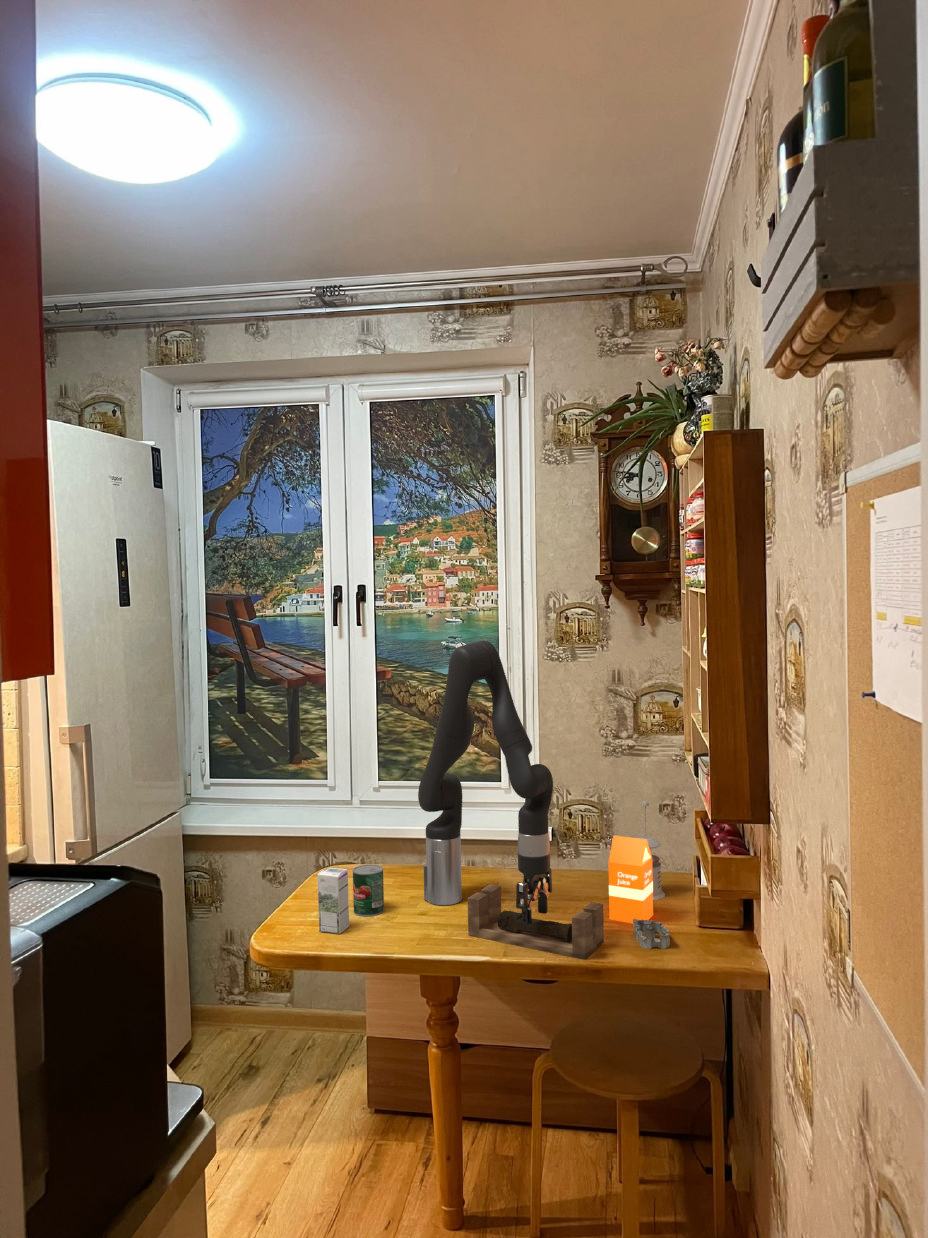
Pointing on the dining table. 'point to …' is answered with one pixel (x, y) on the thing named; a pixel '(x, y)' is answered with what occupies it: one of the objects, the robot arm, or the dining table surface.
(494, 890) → the cradle
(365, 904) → the canned tomato
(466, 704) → the robot arm
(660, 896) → the french press
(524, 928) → the hand tool
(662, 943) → the egg carton
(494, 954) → the dining table surface
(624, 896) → the orange juice
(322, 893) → the syrup box
